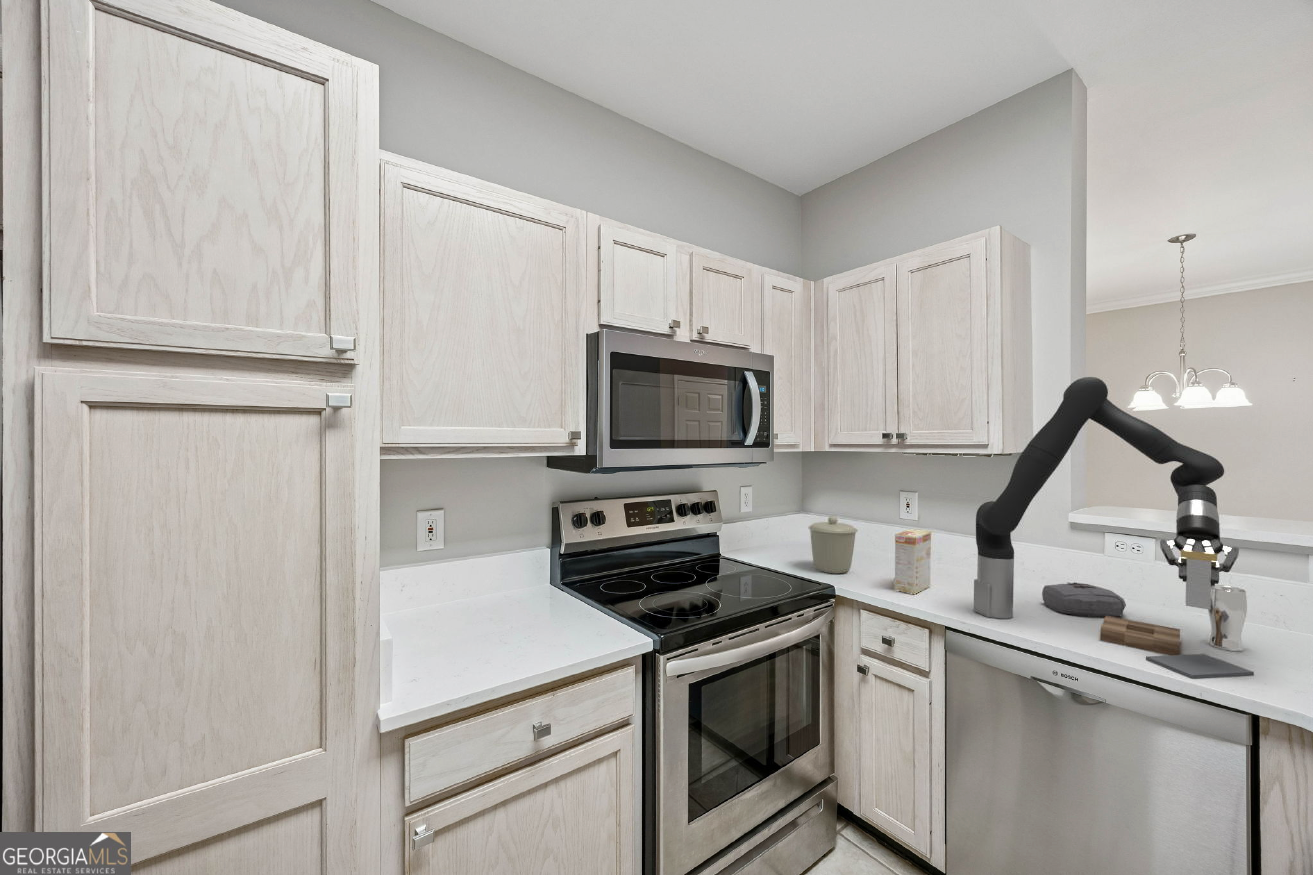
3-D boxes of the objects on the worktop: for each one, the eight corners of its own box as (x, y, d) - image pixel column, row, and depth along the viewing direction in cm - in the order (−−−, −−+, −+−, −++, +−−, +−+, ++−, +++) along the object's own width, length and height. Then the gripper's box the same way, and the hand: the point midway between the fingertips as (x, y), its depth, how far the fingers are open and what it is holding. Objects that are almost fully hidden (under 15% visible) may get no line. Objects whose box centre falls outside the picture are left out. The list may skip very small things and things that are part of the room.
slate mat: (1192, 678, 120) (1192, 674, 120) (1145, 659, 130) (1145, 656, 130) (1253, 675, 123) (1253, 671, 123) (1203, 657, 132) (1203, 653, 132)
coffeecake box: (910, 582, 196) (911, 528, 196) (931, 586, 191) (932, 531, 191) (893, 590, 185) (894, 533, 185) (915, 595, 180) (916, 536, 180)
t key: (1215, 606, 127) (1216, 552, 127) (1216, 610, 124) (1217, 555, 124) (1179, 601, 131) (1180, 548, 131) (1179, 604, 128) (1180, 551, 128)
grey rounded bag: (1063, 617, 161) (1139, 621, 158) (1063, 589, 161) (1139, 593, 158) (1035, 601, 176) (1104, 605, 173) (1036, 575, 176) (1105, 579, 173)
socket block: (1179, 657, 132) (1180, 644, 132) (1100, 640, 142) (1100, 628, 142) (1179, 640, 143) (1179, 629, 143) (1105, 626, 153) (1105, 615, 153)
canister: (798, 569, 213) (799, 515, 213) (824, 562, 225) (825, 511, 224) (840, 579, 199) (841, 521, 199) (865, 571, 211) (866, 517, 211)
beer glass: (1198, 641, 142) (1199, 584, 142) (1222, 641, 143) (1224, 584, 143) (1228, 652, 135) (1230, 592, 135) (1254, 652, 136) (1255, 592, 136)
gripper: (1158, 510, 137) (1156, 567, 129) (1241, 516, 128) (1245, 578, 119) (1158, 528, 141) (1156, 584, 132) (1238, 536, 132) (1242, 597, 123)
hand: (1198, 581), depth 126 cm, fingers closed on t key, 4 cm apart
